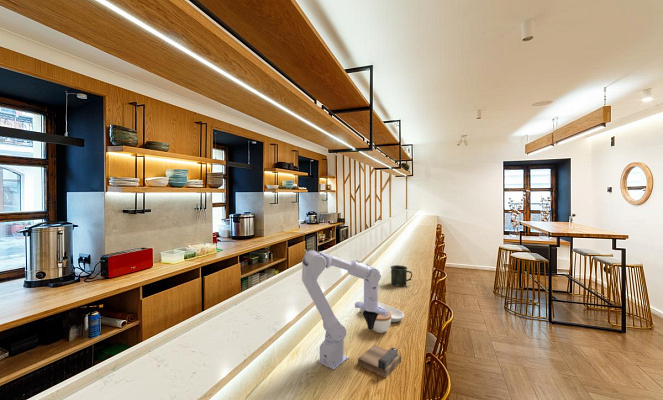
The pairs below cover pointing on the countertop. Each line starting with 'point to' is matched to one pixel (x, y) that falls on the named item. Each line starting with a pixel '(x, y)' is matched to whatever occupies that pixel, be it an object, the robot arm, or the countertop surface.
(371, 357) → the stool seat
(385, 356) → the folding leg
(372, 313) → the robot arm
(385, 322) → the lidded jar
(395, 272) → the mug
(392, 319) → the spoon rest
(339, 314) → the countertop surface
